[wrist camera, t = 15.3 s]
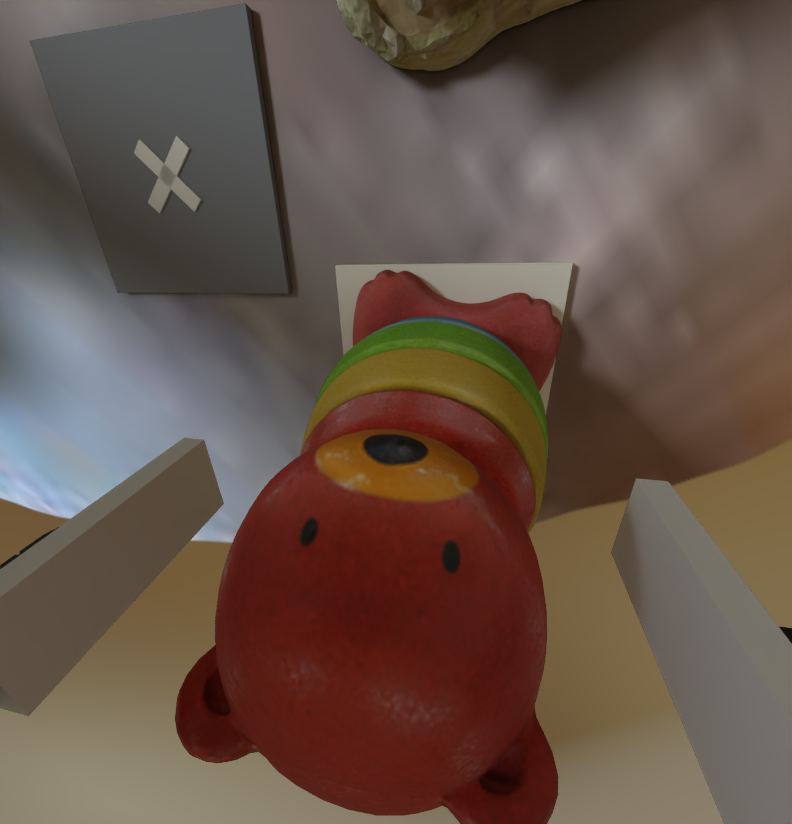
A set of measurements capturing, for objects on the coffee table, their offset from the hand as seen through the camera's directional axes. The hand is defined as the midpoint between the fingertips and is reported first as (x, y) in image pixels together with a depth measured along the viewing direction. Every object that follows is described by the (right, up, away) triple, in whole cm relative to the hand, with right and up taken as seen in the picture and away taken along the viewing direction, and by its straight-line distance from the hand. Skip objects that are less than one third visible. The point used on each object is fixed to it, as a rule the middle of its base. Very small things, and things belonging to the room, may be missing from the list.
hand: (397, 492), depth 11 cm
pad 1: (-12, +15, +8) cm, 21 cm away
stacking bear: (+3, +5, +10) cm, 11 cm away
